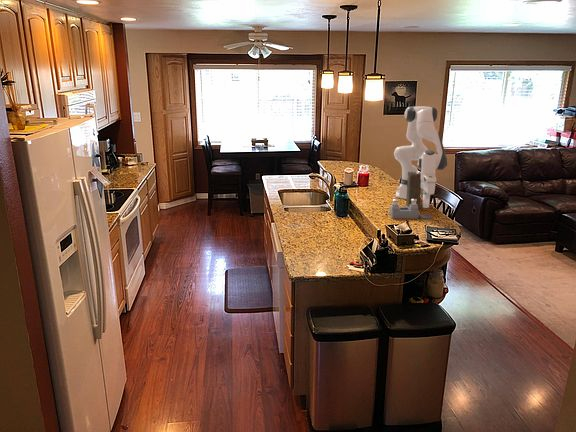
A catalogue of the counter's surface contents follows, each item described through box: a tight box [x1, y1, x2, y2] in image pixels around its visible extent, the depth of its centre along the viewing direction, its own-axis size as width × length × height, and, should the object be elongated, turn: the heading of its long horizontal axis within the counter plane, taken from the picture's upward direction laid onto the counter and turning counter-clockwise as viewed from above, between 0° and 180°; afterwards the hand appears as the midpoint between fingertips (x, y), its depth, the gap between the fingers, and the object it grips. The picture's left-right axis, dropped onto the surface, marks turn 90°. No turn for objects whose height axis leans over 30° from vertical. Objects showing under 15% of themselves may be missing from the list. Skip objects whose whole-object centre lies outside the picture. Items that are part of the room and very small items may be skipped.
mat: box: [418, 214, 434, 220], centre depth 298 cm, size 8×8×1 cm
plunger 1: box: [392, 198, 399, 206], centre depth 299 cm, size 4×4×6 cm
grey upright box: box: [405, 171, 422, 210], centre depth 319 cm, size 19×8×25 cm, turn 170°
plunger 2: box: [411, 199, 417, 206], centre depth 298 cm, size 4×4×6 cm
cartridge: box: [422, 190, 431, 209], centre depth 294 cm, size 5×5×10 cm
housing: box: [388, 203, 420, 220], centre depth 300 cm, size 10×17×8 cm, turn 88°
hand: (426, 198), depth 294 cm, fingers closed on cartridge, 4 cm apart
